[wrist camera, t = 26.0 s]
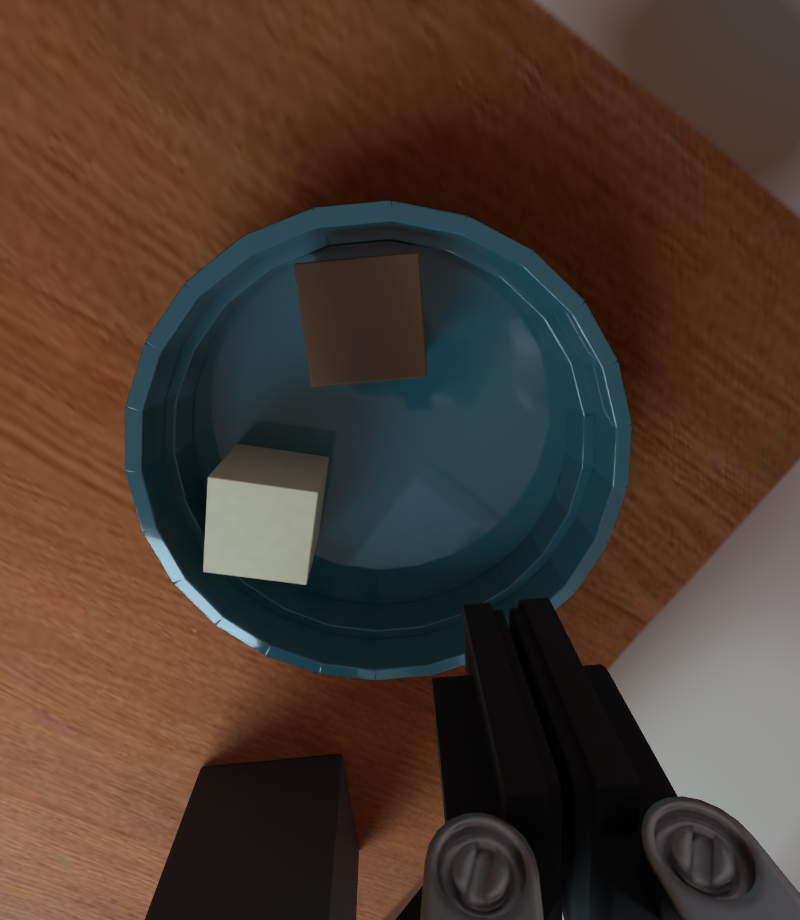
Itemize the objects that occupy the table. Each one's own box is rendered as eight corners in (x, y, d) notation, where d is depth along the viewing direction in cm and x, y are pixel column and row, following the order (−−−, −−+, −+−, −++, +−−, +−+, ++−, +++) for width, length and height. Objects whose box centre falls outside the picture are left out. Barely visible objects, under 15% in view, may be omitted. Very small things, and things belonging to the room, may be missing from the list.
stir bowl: (592, 197, 20) (648, 175, 16) (579, 597, 26) (617, 659, 22) (124, 240, 20) (56, 230, 16) (220, 630, 26) (188, 698, 22)
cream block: (329, 456, 23) (318, 492, 19) (318, 537, 24) (306, 585, 20) (236, 442, 22) (207, 476, 19) (231, 525, 24) (202, 572, 20)
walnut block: (412, 256, 20) (419, 251, 16) (420, 359, 22) (427, 377, 18) (309, 265, 20) (292, 263, 16) (323, 368, 22) (311, 388, 18)
